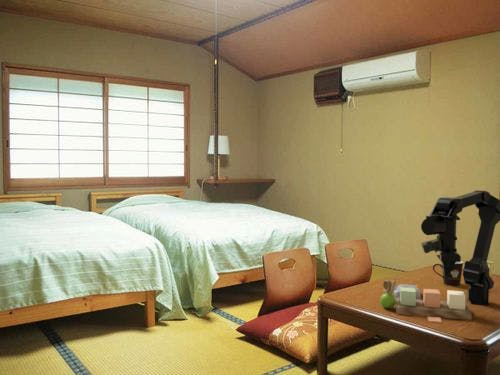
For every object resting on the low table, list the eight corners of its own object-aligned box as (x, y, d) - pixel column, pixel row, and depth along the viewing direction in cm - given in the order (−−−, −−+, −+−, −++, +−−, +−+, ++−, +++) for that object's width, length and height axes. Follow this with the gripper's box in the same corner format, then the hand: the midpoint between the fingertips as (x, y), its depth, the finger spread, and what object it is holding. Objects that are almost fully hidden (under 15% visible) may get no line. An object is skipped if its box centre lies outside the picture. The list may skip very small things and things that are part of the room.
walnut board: (465, 309, 161) (465, 302, 160) (471, 319, 150) (471, 312, 150) (395, 304, 167) (395, 297, 167) (396, 313, 157) (396, 307, 156)
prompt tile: (440, 318, 151) (440, 317, 151) (441, 322, 147) (441, 321, 147) (427, 317, 152) (427, 316, 152) (428, 321, 149) (428, 320, 149)
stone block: (396, 304, 173) (423, 300, 171) (393, 292, 173) (420, 288, 171) (392, 296, 185) (417, 293, 183) (390, 285, 185) (415, 281, 183)
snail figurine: (388, 312, 158) (389, 278, 158) (376, 306, 164) (377, 274, 164) (400, 309, 161) (401, 277, 160) (388, 304, 167) (389, 273, 166)
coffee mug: (464, 283, 195) (464, 260, 195) (461, 287, 188) (461, 264, 188) (435, 279, 202) (436, 257, 201) (432, 284, 194) (432, 261, 194)
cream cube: (462, 305, 158) (462, 291, 158) (465, 309, 153) (465, 295, 153) (447, 304, 159) (447, 290, 159) (449, 308, 155) (449, 294, 154)
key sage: (414, 301, 162) (414, 288, 162) (415, 305, 158) (415, 292, 157) (400, 300, 164) (400, 287, 163) (400, 304, 159) (400, 291, 159)
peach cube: (438, 303, 160) (438, 289, 160) (440, 307, 155) (440, 293, 155) (423, 302, 162) (423, 288, 161) (424, 306, 157) (424, 292, 156)
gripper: (420, 228, 170) (419, 269, 171) (426, 236, 152) (425, 281, 153) (452, 229, 167) (451, 271, 168) (461, 237, 149) (460, 283, 150)
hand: (446, 276), depth 159 cm, fingers closed
